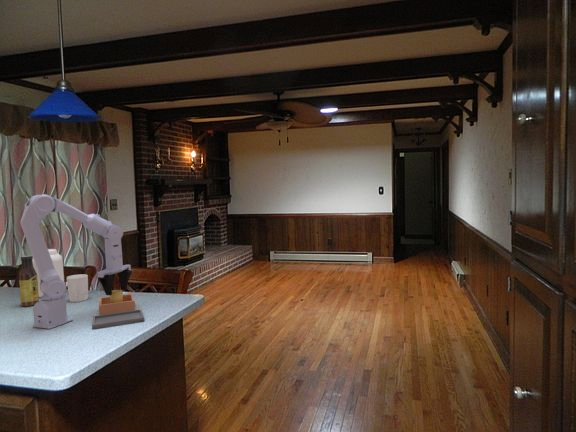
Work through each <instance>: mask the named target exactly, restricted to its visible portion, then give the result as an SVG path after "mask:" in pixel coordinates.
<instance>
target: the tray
mask: <svg viewBox="0 0 576 432" xmlns="http://www.w3.org/2000/svg"><path fill="white" fill-rule="evenodd" d="M142 322H145V315H144V313H143V310H142V309H135V310H133V311H126V312H119V313H111V314H104V315H99V314H97V315H93V316H92V322H91V323H92V324H91V326H92V328H91V329H92V330H98V329H103V328H104V329H105V328H110V327H118V326H123V325H130V324H135V323H136V324H137V323H142Z"/></svg>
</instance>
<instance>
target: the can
mask: <svg viewBox="0 0 576 432" xmlns="http://www.w3.org/2000/svg"><path fill="white" fill-rule="evenodd" d="M48 251H49V254H50V257H51V259H52V262H53V265H54V267H55V270H56V271H57V273H58V275H59V277H60V279H61V280H62V281H63V282H64V283H65V274H64V260H63V256H62V255H61V254H60V253H58V250H57V248H48ZM32 262H33V267H34V269H35V271H36V273H37V280H38V293H39V299H40V298H41V297H42V295H43V294H44V293H43V292H42V291H41V290H40V278H39V272H38V269H37V267H36V264H35V261H34V259H32Z"/></svg>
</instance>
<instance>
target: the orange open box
mask: <svg viewBox="0 0 576 432" xmlns="http://www.w3.org/2000/svg"><path fill="white" fill-rule="evenodd" d="M98 310H99V311H98V312H99V314H98V315H104V314H111V313H119V312H126V311H133V310H136V301H135V297H134V294H133V293H128V294H123V302H118V303H110V296H105V297H99V299H98Z"/></svg>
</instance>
